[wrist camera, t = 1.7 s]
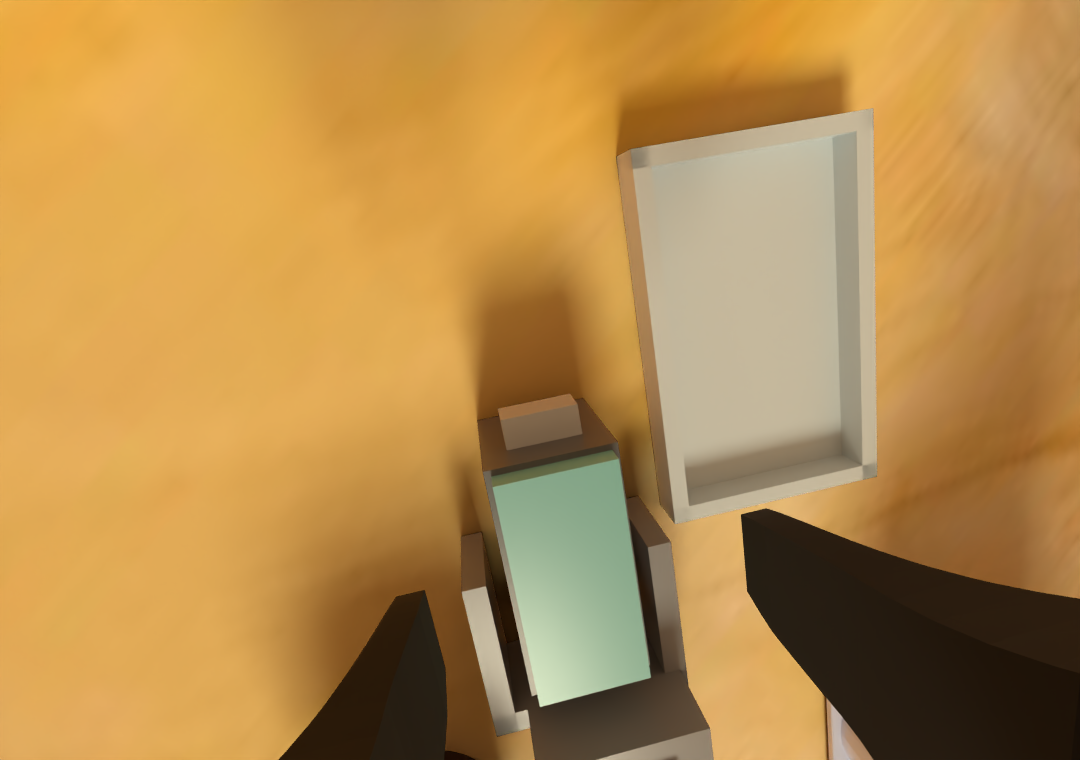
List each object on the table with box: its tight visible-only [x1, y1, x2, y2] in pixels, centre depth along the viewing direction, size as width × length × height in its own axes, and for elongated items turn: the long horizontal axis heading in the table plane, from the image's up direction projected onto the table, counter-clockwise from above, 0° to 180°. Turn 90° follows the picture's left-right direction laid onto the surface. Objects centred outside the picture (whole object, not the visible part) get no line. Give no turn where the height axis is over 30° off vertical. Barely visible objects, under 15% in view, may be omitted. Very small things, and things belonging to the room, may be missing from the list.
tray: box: [616, 108, 877, 524], centre depth 20 cm, size 8×13×2 cm, turn 9°
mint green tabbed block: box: [477, 394, 651, 707], centre depth 19 cm, size 4×9×6 cm, turn 10°
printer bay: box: [461, 496, 714, 760], centre depth 20 cm, size 7×9×6 cm
